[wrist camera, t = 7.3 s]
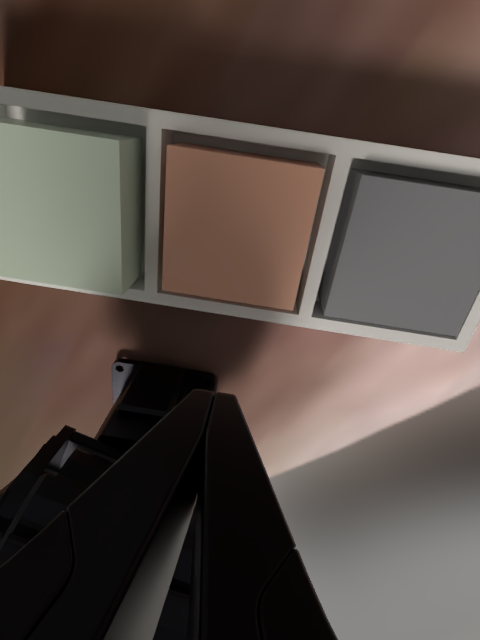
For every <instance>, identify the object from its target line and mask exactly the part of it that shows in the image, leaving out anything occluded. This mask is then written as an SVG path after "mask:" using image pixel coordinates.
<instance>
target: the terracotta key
mask: <svg viewBox="0 0 480 640" xmlns="http://www.w3.org/2000/svg"><path fill="white" fill-rule="evenodd" d="M324 172H325V169H324V168H323V167H322V166H321V165H320V164H319V163H315V162H309V161H302V160H296V159H289V158H283V157H276V156H269V155H263V154H256V153H250V152H243V151H237V150H230V149H224V148H217V147H211V146H204V145H197V144H191V143H184V142H180V143H175V144H169V145H167V155H166V184H165V212H164V240H163V269H162V290H164V291H170V292H177V293H183V294H189V295H196V296H202V297H208V298H215V299H221V300H227V301H234V302H240V303H246V304H253V305H259V306H265V307H272V308H278V309H285V310H291V311H293V309H294V304H295V300H296V295H297V291H298V286H299V282H300V278H301V273H302V269H303V264H304V260H305V256H306V251H307V247H308V242H309V238H310V233H311V229H312V225H313V220H314V216H315V211H316V207H317V202H318V198H319V194H320V189H321V185H322V180H323V176H324Z"/></svg>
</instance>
